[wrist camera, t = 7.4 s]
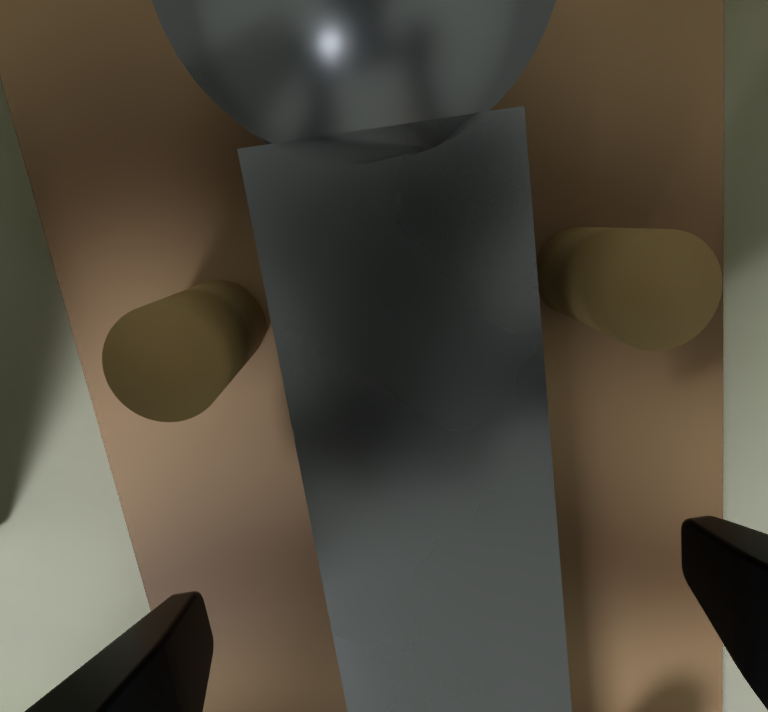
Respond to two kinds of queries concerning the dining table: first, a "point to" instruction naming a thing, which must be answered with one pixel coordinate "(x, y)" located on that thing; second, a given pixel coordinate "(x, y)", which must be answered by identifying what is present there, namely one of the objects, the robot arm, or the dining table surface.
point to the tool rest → (261, 364)
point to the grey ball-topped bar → (404, 329)
